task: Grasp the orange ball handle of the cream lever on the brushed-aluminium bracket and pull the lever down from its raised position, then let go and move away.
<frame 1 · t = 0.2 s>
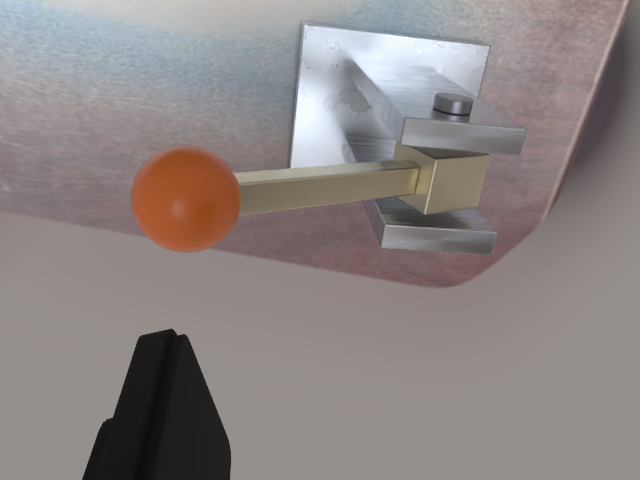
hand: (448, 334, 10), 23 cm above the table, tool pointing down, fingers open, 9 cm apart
lever: (326, 185, 19), point 13 cm above the table, hinge at 25.0°
bracket: (382, 106, 31), on the table
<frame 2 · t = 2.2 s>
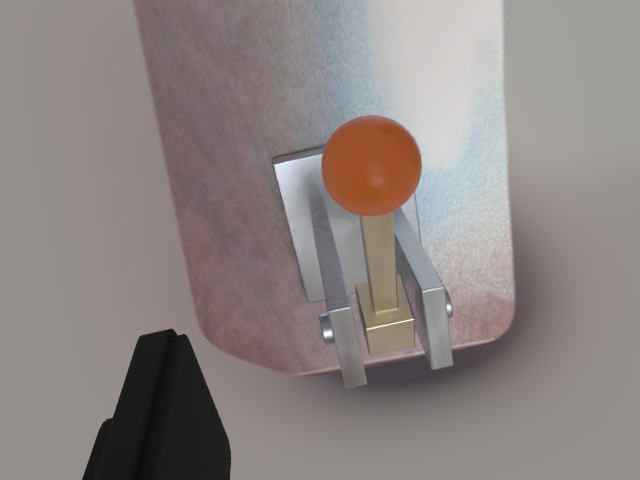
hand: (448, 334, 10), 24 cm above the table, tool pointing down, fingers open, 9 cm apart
lever: (379, 253, 22), point 13 cm above the table, hinge at 25.0°
bracket: (351, 216, 35), on the table
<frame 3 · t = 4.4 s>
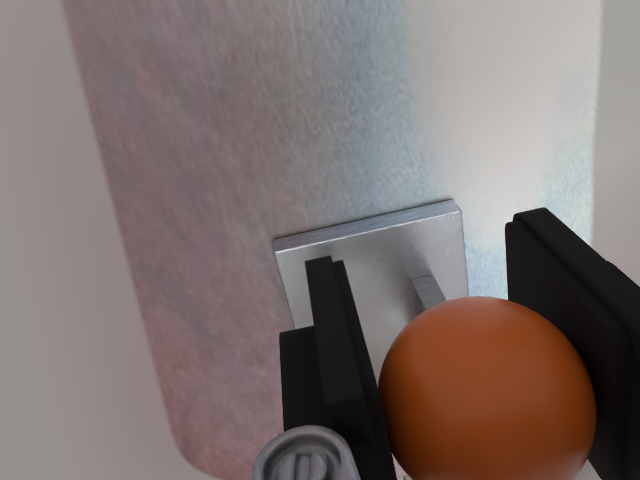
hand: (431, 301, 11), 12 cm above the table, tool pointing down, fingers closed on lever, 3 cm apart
lever: (460, 478, 12), point 13 cm above the table, hinge at 25.0°, touching gripper
bracket: (379, 311, 26), on the table
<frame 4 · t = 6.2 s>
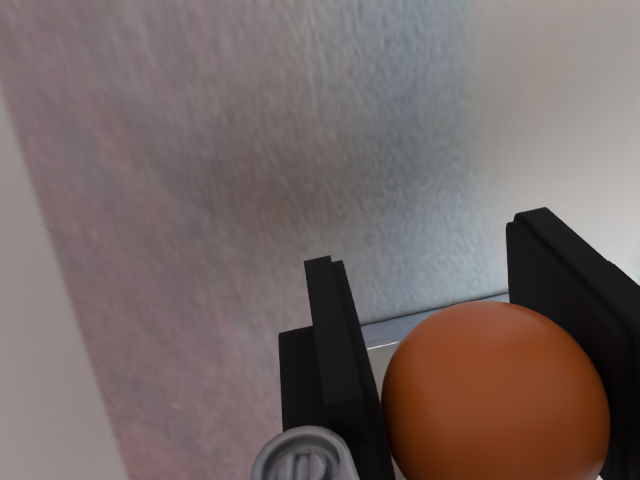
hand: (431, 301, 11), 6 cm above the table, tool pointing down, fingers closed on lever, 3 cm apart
bracket: (417, 423, 21), on the table
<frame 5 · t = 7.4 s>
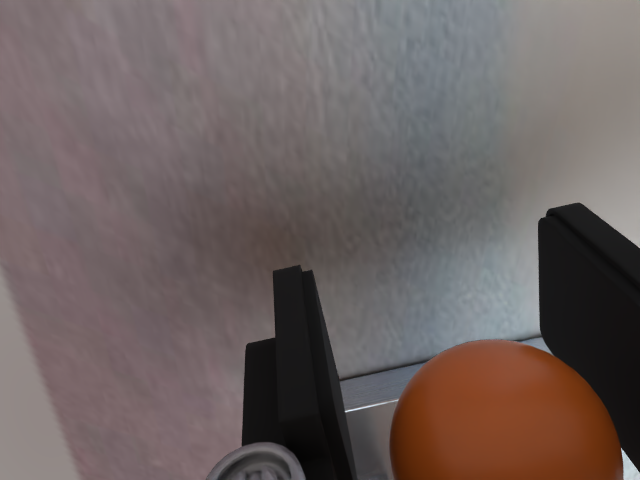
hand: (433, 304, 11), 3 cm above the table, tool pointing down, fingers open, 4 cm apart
bracket: (434, 478, 18), on the table
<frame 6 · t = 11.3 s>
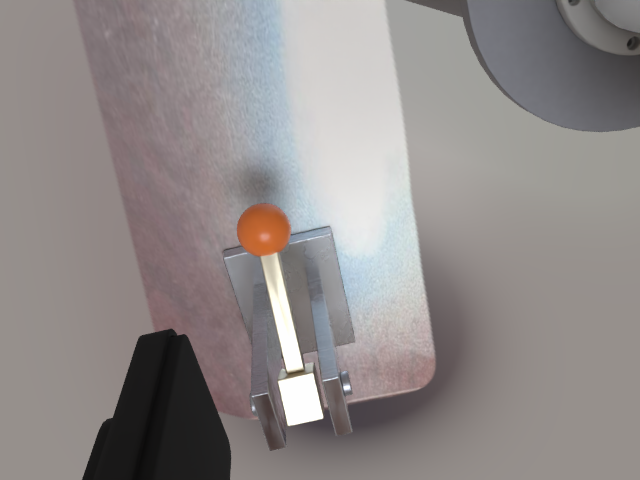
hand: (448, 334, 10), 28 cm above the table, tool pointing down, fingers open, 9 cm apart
lever: (282, 310, 33), point 9 cm above the table, hinge at -26.0°
bracket: (292, 293, 43), on the table
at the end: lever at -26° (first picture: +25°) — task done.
